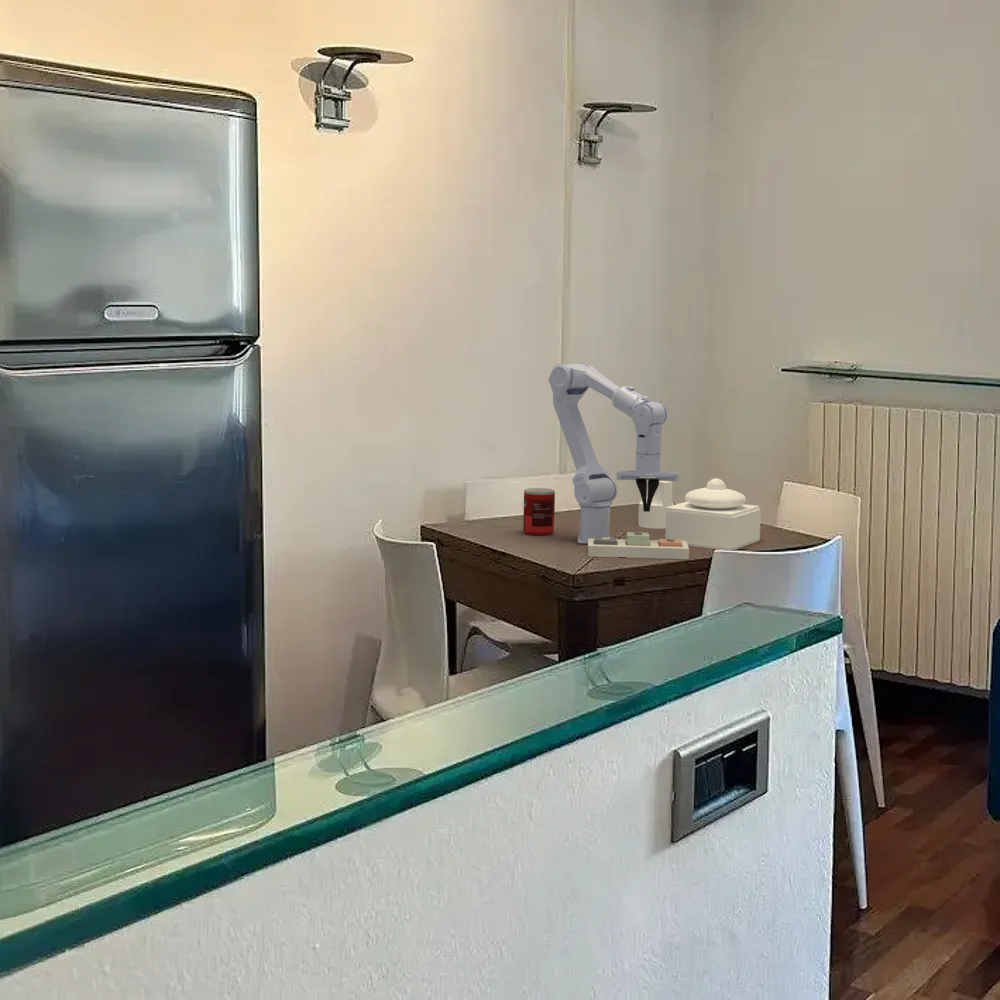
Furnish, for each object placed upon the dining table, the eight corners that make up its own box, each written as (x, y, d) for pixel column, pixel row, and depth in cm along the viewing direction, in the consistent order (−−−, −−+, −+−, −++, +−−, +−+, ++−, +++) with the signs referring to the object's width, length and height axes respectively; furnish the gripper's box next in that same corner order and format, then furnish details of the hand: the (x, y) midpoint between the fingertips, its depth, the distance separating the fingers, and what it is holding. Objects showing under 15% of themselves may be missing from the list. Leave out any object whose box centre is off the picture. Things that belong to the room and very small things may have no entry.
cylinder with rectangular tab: (631, 524, 360) (632, 479, 358) (656, 521, 365) (657, 477, 363) (654, 529, 352) (656, 483, 351) (679, 526, 358) (681, 481, 356)
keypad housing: (587, 548, 323) (588, 538, 323) (685, 551, 322) (686, 541, 321) (587, 556, 313) (588, 545, 313) (688, 559, 312) (689, 548, 312)
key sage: (626, 545, 320) (627, 531, 320) (648, 546, 320) (648, 531, 319) (627, 549, 315) (627, 534, 315) (648, 549, 315) (649, 535, 314)
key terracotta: (658, 552, 320) (659, 537, 319) (680, 552, 319) (680, 538, 319) (659, 556, 315) (660, 541, 314) (681, 556, 314) (681, 542, 314)
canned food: (535, 529, 349) (536, 487, 348) (560, 533, 344) (561, 490, 343) (516, 533, 344) (517, 489, 342) (541, 537, 338) (542, 493, 337)
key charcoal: (594, 550, 321) (594, 536, 320) (615, 550, 320) (616, 536, 320) (594, 554, 316) (594, 539, 315) (616, 554, 315) (616, 540, 315)
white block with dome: (732, 551, 324) (734, 485, 322) (663, 543, 333) (665, 478, 331) (759, 541, 339) (762, 477, 336) (693, 533, 348) (695, 471, 346)
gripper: (617, 454, 316) (615, 512, 318) (680, 456, 315) (678, 514, 317) (617, 451, 323) (615, 508, 325) (678, 452, 322) (676, 509, 324)
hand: (646, 511), depth 321 cm, fingers closed
